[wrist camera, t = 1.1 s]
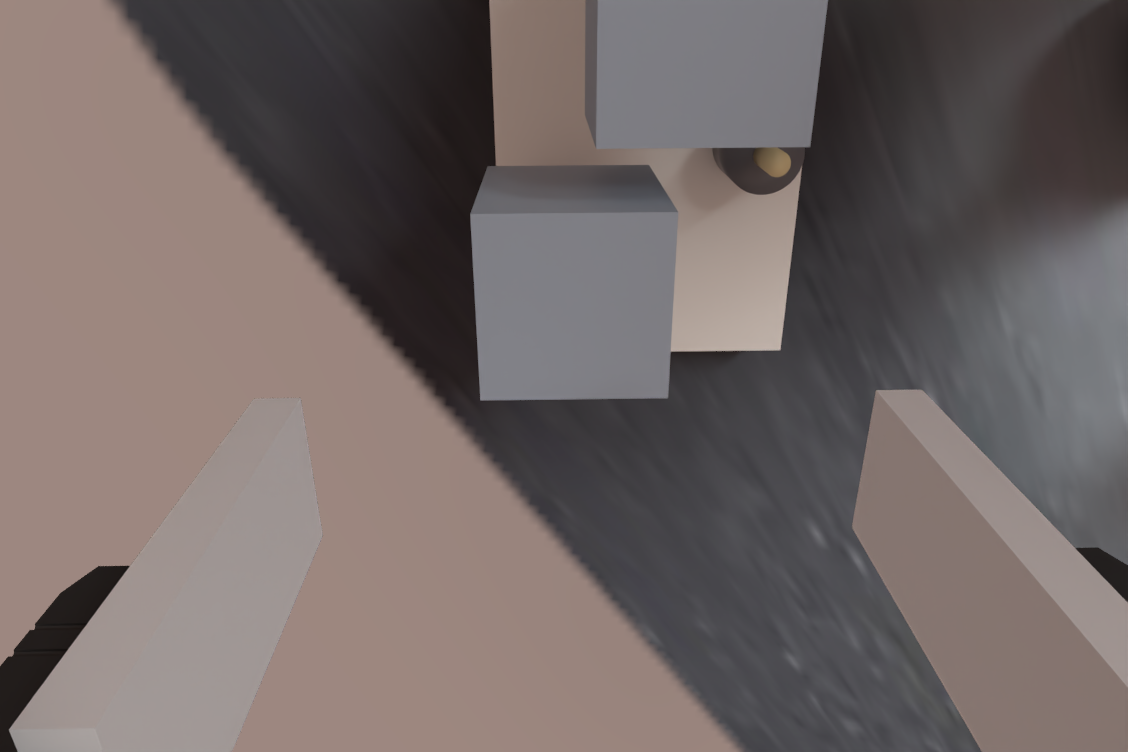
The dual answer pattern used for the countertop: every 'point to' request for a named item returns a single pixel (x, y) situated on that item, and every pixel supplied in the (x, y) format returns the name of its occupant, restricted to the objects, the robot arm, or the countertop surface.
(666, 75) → the knob
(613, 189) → the knob
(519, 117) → the mount
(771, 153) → the potentiometer
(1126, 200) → the countertop surface
